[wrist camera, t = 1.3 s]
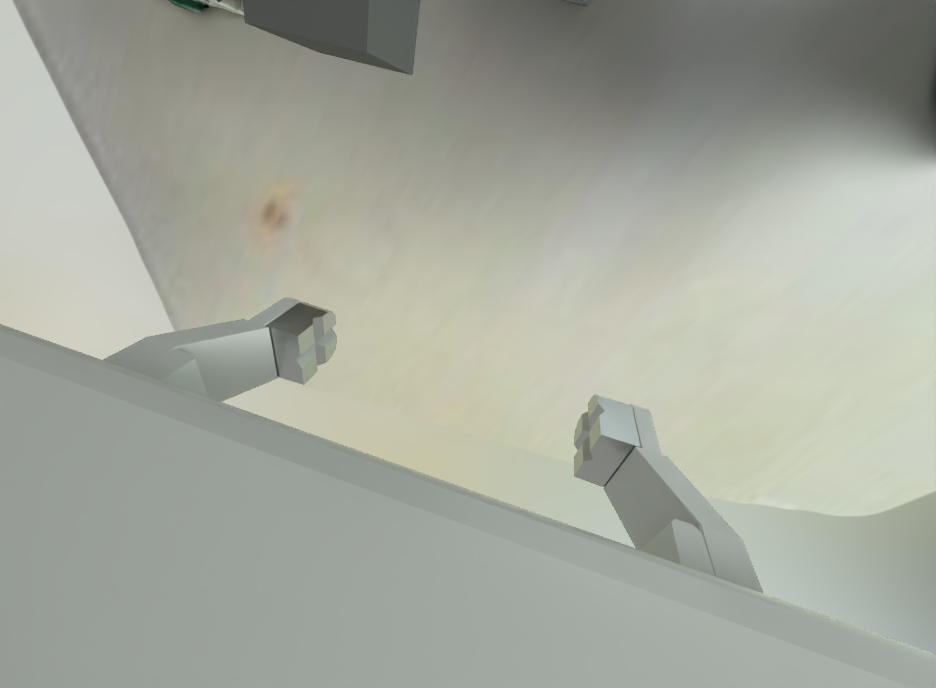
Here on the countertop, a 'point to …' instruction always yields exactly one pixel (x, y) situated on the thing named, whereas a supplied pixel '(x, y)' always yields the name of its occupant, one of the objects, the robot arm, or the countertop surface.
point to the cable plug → (344, 28)
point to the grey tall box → (578, 1)
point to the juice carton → (211, 5)
